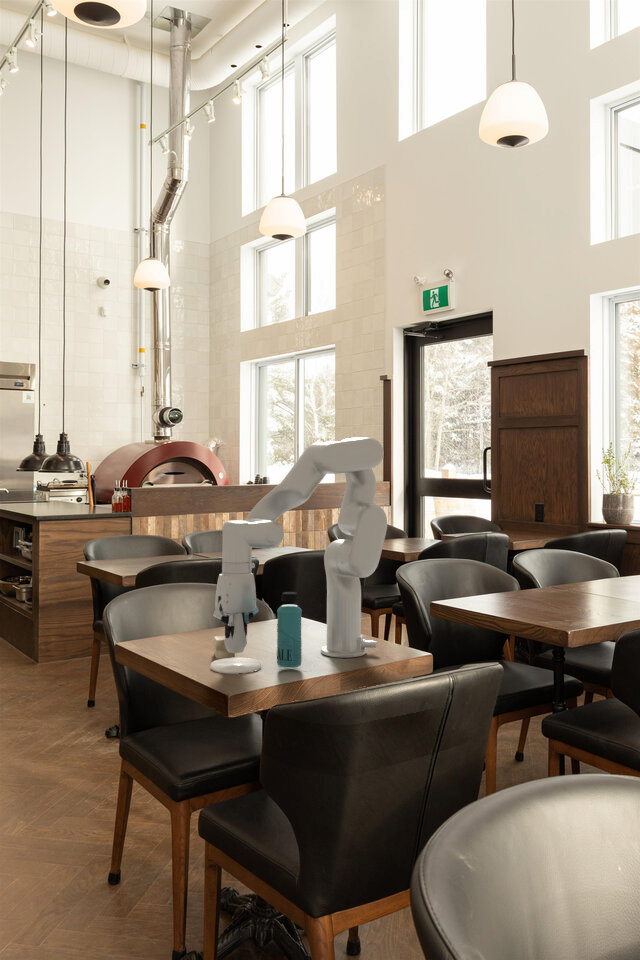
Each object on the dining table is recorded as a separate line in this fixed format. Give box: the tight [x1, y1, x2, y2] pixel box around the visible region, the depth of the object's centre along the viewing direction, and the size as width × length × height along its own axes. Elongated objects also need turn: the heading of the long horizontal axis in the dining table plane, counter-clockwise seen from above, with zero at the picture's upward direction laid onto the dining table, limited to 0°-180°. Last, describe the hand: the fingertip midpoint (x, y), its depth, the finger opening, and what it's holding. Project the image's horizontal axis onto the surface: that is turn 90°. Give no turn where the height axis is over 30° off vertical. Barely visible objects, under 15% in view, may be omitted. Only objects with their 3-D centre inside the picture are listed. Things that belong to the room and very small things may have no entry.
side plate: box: [210, 657, 262, 675], centre depth 208 cm, size 13×13×1 cm
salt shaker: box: [224, 613, 248, 654], centre depth 208 cm, size 6×6×13 cm
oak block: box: [213, 635, 236, 659], centre depth 221 cm, size 5×5×5 cm
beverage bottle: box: [276, 591, 303, 668], centre depth 206 cm, size 6×7×20 cm
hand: (235, 639), depth 208 cm, fingers closed on salt shaker, 3 cm apart
